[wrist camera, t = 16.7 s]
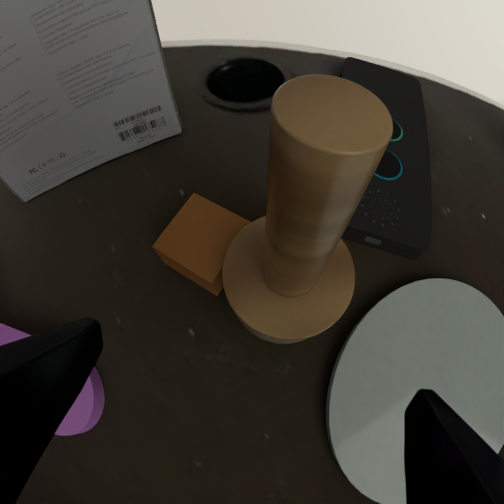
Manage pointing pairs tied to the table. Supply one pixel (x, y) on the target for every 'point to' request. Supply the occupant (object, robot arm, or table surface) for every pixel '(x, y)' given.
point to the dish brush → (307, 209)
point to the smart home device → (395, 168)
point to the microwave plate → (413, 378)
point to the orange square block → (199, 241)
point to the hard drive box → (78, 88)
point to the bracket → (86, 404)
